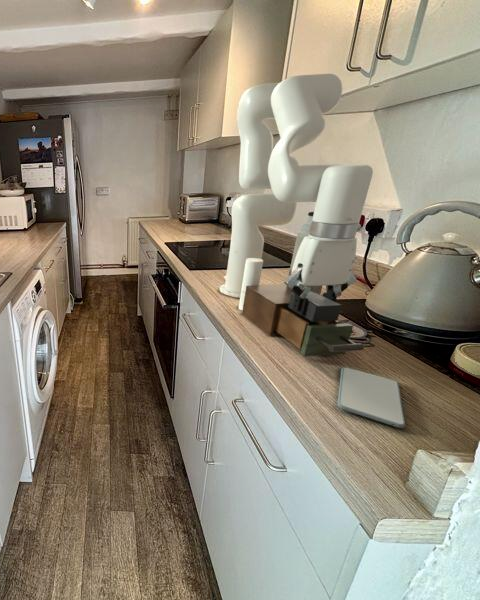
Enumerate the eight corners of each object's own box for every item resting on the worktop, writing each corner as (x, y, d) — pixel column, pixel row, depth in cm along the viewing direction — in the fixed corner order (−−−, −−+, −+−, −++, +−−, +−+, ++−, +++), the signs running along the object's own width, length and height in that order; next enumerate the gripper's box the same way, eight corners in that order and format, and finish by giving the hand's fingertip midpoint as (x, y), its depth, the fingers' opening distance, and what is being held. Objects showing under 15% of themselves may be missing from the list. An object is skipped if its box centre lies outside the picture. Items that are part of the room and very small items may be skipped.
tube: (240, 311, 93) (248, 261, 87) (237, 305, 97) (244, 257, 91) (256, 312, 92) (265, 261, 86) (252, 306, 96) (260, 258, 90)
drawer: (364, 367, 63) (375, 336, 61) (321, 369, 63) (329, 339, 61) (304, 328, 79) (310, 303, 77) (269, 330, 79) (274, 305, 77)
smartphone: (398, 380, 59) (406, 426, 48) (397, 385, 59) (404, 431, 48) (341, 365, 64) (337, 404, 53) (340, 370, 64) (336, 409, 54)
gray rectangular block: (312, 321, 67) (316, 305, 66) (288, 307, 75) (291, 292, 73) (337, 320, 67) (342, 304, 66) (311, 306, 75) (314, 291, 73)
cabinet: (309, 333, 79) (317, 301, 75) (269, 335, 78) (276, 303, 75) (276, 312, 91) (282, 283, 88) (241, 313, 91) (246, 285, 88)
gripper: (358, 226, 68) (336, 303, 74) (279, 229, 67) (264, 307, 74) (391, 232, 61) (363, 317, 67) (303, 236, 60) (284, 321, 67)
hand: (312, 311), depth 71 cm, fingers closed on gray rectangular block, 5 cm apart
